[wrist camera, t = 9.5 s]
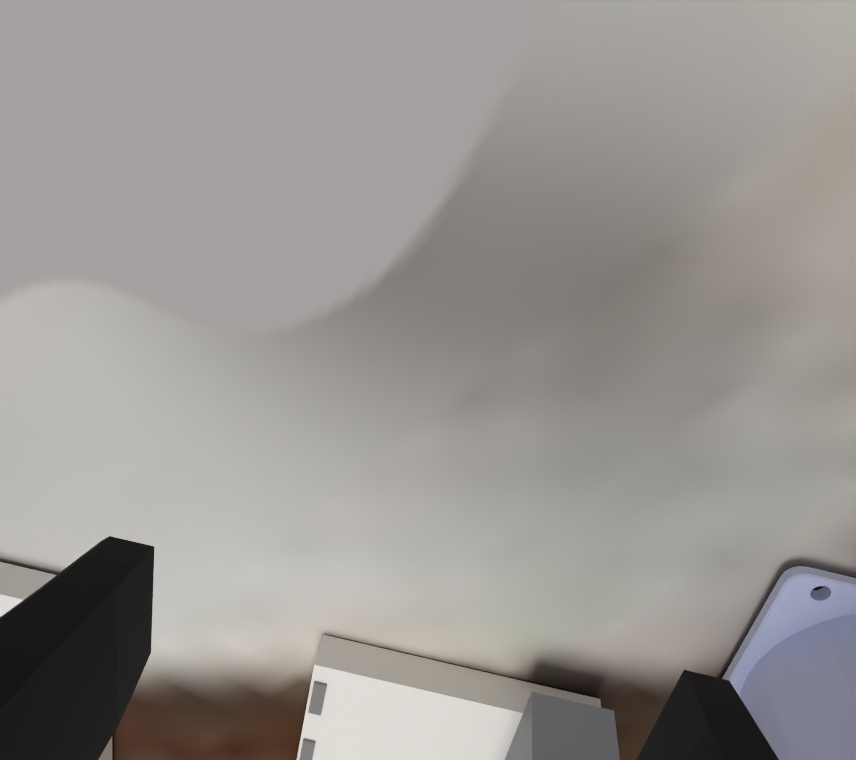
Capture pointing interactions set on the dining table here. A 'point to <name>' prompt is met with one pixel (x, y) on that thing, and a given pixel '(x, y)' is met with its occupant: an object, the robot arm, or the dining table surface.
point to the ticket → (442, 712)
